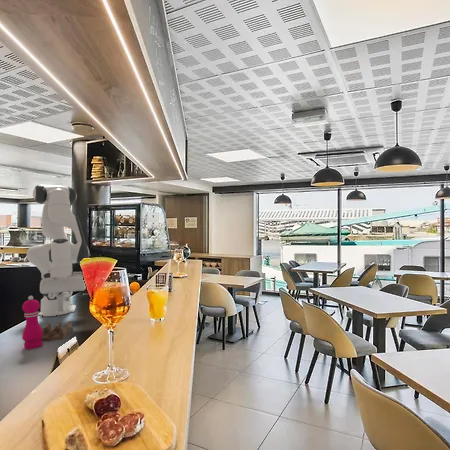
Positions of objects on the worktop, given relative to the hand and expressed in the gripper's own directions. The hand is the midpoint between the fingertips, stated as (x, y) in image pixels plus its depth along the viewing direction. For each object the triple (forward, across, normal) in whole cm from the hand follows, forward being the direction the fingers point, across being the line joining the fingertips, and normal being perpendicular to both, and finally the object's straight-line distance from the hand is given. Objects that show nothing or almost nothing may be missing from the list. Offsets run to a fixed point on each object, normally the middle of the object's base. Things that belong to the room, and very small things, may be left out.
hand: (64, 301), depth 165 cm
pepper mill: (+11, +4, +30) cm, 32 cm away
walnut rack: (+11, +2, +17) cm, 20 cm away
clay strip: (+3, 0, 0) cm, 3 cm away
